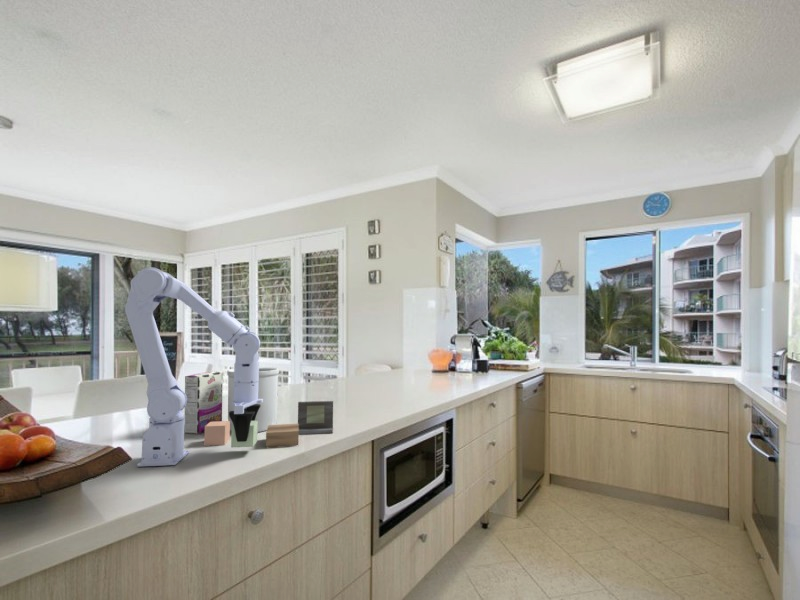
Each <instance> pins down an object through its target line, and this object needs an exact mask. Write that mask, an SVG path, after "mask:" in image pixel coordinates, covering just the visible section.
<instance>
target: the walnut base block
mask: <svg viewBox="0 0 800 600" xmlns="http://www.w3.org/2000/svg"><path fill="white" fill-rule="evenodd" d="M299 436H300V434H299V424H298V423H285V424H284V423H282V424H276V425H268V428H267V430H266V431H265V448H266V447H270V448H279V447H278V446H285V447H293V446H292V445H298V446H299Z"/></svg>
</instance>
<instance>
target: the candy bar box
mask: <svg viewBox="0 0 800 600" xmlns="http://www.w3.org/2000/svg"><path fill="white" fill-rule="evenodd" d="M223 374H224V373H223V371H215V370H214V371H213V370H212V371H205V372H201V373H194V374H191V375H189V374H188V375H186V376H184V393H185V394H186V396H187V403H186V406H185V407H184V415H185V426H184V434H188V433H192V434H193V435H194V434H195V435H199V434H202V433H205V426H206V425H207V424H208V423H210V422H218V421H223V378H224V377H223Z"/></svg>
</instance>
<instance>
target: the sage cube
mask: <svg viewBox="0 0 800 600" xmlns="http://www.w3.org/2000/svg"><path fill="white" fill-rule="evenodd" d="M257 428H258V421H251V423H250V428H249V434H248V438H247V441H245V442H237V439H236V434H235V429H234V425H232V431H231V433H230V435H231V437H230V448H252V447H255V445H256V443H257V441H258V432H257Z"/></svg>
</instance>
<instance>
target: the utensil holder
mask: <svg viewBox="0 0 800 600" xmlns="http://www.w3.org/2000/svg"><path fill="white" fill-rule="evenodd" d="M226 371H227V372H226V375H227V376H228V377H227V381H228V382H227V419H228V420H227V421H230V432H232V425H233V422H232V420H231V418H230V417H229V412H230V411H234V405H233V404H232V400H233V391H234V368H231V369H230V368H229V369H227V370H226ZM279 373H280V368H279V367H273V366H259V384H258V399H263V402H262V403H257V404H260V405H261V406H260V408H259V410H258V412H257V415H256V418H255V421H258V428H257V433H260V432H261V433H262V432H267V428H268V425H278V424H277V422H278V421H277V420H278V419H277V418H278V397H279V396H278V391H279Z"/></svg>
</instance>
